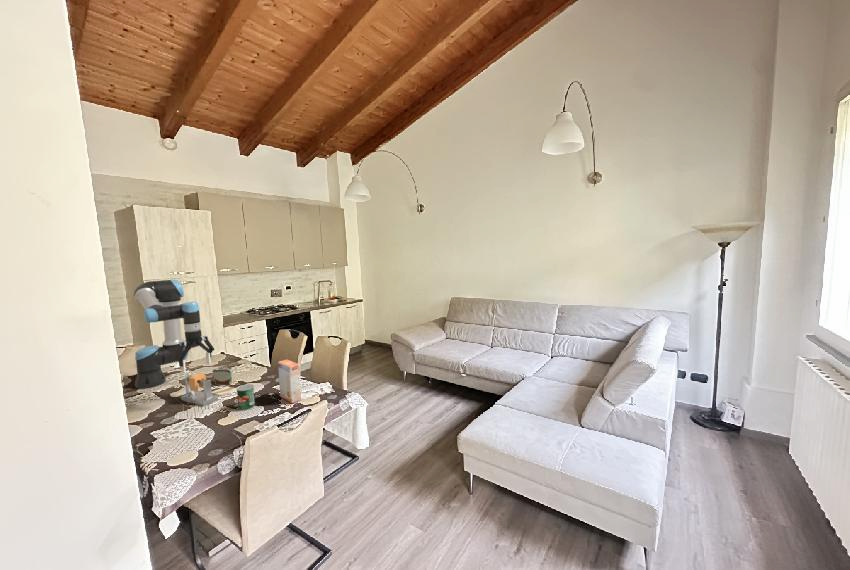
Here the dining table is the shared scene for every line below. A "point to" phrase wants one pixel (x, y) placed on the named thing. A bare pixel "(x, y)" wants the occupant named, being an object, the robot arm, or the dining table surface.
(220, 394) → the pad
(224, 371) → the food container
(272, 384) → the dining table surface
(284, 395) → the cracker box
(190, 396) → the rail stand
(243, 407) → the canned tomato
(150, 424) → the dining table surface
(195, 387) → the orange notched sleeve
